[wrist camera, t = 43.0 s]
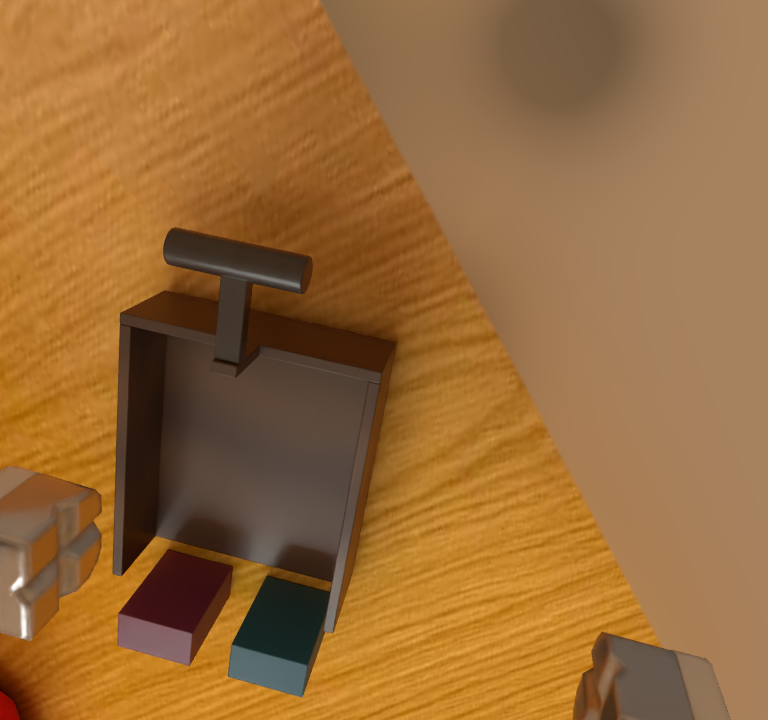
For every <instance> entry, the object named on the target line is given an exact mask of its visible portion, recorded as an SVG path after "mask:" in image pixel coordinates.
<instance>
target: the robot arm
mask: <svg viewBox="0 0 768 720" xmlns="http://www.w3.org/2000/svg"><path fill="white" fill-rule="evenodd" d="M101 512H102V505H101V495H100V494H99V493H98V492H97V491H96V490H95V489H91V488H88V487H85V486H82V485H78V484H75V483H72V482H68V481H65V480H62V479H59V478H55V477H52V476H49V475H46V474H40V473H37V472H34V471H31V470H27V469H24V468H21V467H18V466H12V467H5V468H4V469H2V470H1V471H0V633H3V634H6V635H10V636H14V637H17V638H21V639H24V640H28V641H30V640H31V639H32V638H33V637H34V636H35V635H36V634H37V633H38V632H39V631H40V630H41V629H42V628H43V627H44V626H45V625H46V624H47V623H48V621H49V620H50V619H51V618H52V617H53V616H54V615H55V614H56V613H57V612H58V611H59V598H60V597H63V596H65V595H68V594H70V593H73V592H75V591H78V590H79V588H80V587H81V586H82V585H83V584H84V583H85V582H86V581H87V579H88V578H89V577H90V575H91V573H92V571H93V569H94V567H95V565H96V564H97V562H98V558H99V554H100V550H101V537H102V534H101V533H100V531H99V529H98V528H97V526H96V525H95V523H94V521H93V520H94V519H95V518H96V517H97V516H98V515H99V514H100V513H101ZM592 660H593V668H591V669H590V670H588V671H586V672H584V673H583V674H582V677H581V680H580V683H579V686H578V689H577V692H576V698H575V703H574V709H573V720H731V719H730V716H729V713H728V710H727V707H726V705H725V702H724V699H723V696H722V693H721V690H720V687H719V684H718V681H717V679H716V676H715V673H714V670H713V667H712V665H711V663H710V662H709V661H708V660H707V659H705V658H702V657H698V656H693V655H690V654H686V653H682V652H678V651H674V650H667V649H664V648H660V647H656V646H653V645H649V644H645V643H642V642H638V641H634V640H631V639H627V638H623V637H620V636H616V635H612V634H609V633H605V632H601V633H600V635H599V636H598V637H597V639H596V641H595V644H594V646H593V649H592Z"/></svg>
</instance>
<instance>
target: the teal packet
mask: <svg viewBox="0 0 768 720" xmlns="http://www.w3.org/2000/svg"><path fill="white" fill-rule="evenodd" d="M329 595H330V593H329V592H325V591H322V590H318V589H314V588H310V587H306V586H303V585H299V584H295V583H291V582H287V581H284V580H280V579H276V578H272V577H268V576H267V577H266V578H265V580H264V582H263V584H262V586H261V588H260V590H259V592H258V594H257V596H256V598H255V600H254V602H253V604H252V606H251V608H250V610H249V611H248V613H247V615H246V617H245V619H244V621H243V623H242V625H241V627H240V629H239V631H238V633H237V635H236V637H235V639H234V641H233V643H232V645H231V654H230V663H229V671H228V677H231V678H235V679H238V680H242V681H245V682H249V683H253V684H256V685H260V686H263V687H267V688H270V689H274V690H278V691H281V692H285V693H288V694H292V695H296V696H299V697H303V695H304V692H305V689H306V686H307V683H308V680H309V677H310V674H311V671H312V668H313V666H314V663H315V660H316V657H317V654H318V651H319V648H320V645H321V642H322V639H323V636H324V634H325V631H323V628H324V622H325V617H326V611H327V606H328V600H329Z"/></svg>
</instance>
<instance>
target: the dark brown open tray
mask: <svg viewBox="0 0 768 720" xmlns="http://www.w3.org/2000/svg"><path fill="white" fill-rule="evenodd" d="M163 255H164V259H165V261H166V263H167V264H169V265H172V266H177V267H181V268H186V269H190V270H195V271H199V272H204V273H209V274H213V275H218V276H221V281H220V293H219V303H218V302H214V301H210V300H205V299H201V298H196V297H192V296H187V295H183V294H178V293H174V292H169V291H163V292H161V293H159V294H157V295H155V296H153V297H151V298H149V299H147V300H145V301H143V302H141V303H139V304H137V305H135V306H133V307H131V308H129V309H127V310H125V311H123V312H121V313H120V340H119V373H118V407H117V441H116V474H115V508H114V542H113V574H115V575H118V576H122V575H123V574H124V573H125V572H126V570H127V569H128V568H129V567H130V566H131V564H132V563H133V562H134V561H135V560H136V559H137V557H138V556H139V555H140V554H141V553H142V551H143V550H144V549H145V548H146V547H147V545H148V544H149V543H150V542H151V541H152V539H153V538H154V537H155V536H158V537H162V538H165V539H169V540H173V541H177V542H181V543H185V544H188V545H192V546H196V547H200V548H204V549H207V550H211V551H215V552H219V553H223V554H227V555H230V556H234V557H238V558H242V559H246V560H249V561H253V562H257V563H261V564H265V565H268V566H272V567H276V568H280V569H284V570H288V571H291V572H295V573H299V574H303V575H307V576H310V577H314V578H318V579H322V580H326V581H329V582H332V584H331V590H330V595H329V600H328V606H327V611H326V617H325V622H324V628H323V631H326V632H330V633H333V632H334V629H335V626H336V623H337V620H338V617H339V614H340V611H341V608H342V605H343V602H344V599H345V596H346V593H347V590H348V587H349V584H350V581H351V576H352V571H353V566H354V560H355V555H356V550H357V545H358V540H359V535H360V530H361V525H362V520H363V514H364V509H365V504H366V499H367V494H368V489H369V484H370V479H371V474H372V468H373V463H374V458H375V453H376V448H377V443H378V438H379V433H380V428H381V422H382V417H383V412H384V407H385V402H386V397H387V392H388V387H389V382H390V376H391V371H392V366H393V361H394V356H395V351H396V346H397V343H396V342H392V341H387V340H383V339H379V338H374V337H370V336H365V335H361V334H356V333H352V332H347V331H343V330H338V329H334V328H330V327H325V326H321V325H316V324H312V323H307V322H303V321H298V320H294V319H290V318H285V317H281V316H276V315H272V314H267V313H263V312H258V311H254V310H250V305H251V296H252V286H253V283H254V284H258V285H263V286H267V287H272V288H276V289H281V290H286V291H290V292H295V293H299V294H304V293H305V292H306V291H307V289H308V287H309V284H310V280H311V276H312V269H313V262H312V258H311V257H310V256H307V255H302V254H297V253H293V252H288V251H284V250H279V249H274V248H270V247H265V246H260V245H256V244H251V243H246V242H242V241H237V240H232V239H228V238H223V237H218V236H214V235H209V234H204V233H200V232H195V231H191V230H186V229H181V228H176V227H175V228H172V229H171V230H170V231H169V232H168V234H167V236H166V238H165V242H164V248H163Z"/></svg>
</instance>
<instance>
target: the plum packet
mask: <svg viewBox="0 0 768 720" xmlns="http://www.w3.org/2000/svg"><path fill="white" fill-rule="evenodd" d="M231 576H232V567H231V566H227V565H223V564H220V563H216V562H212V561H208V560H205V559H201V558H197V557H193V556H189V555H186V554H182V553H178V552H174V551H171V550H167V551H166V553H165V554H164V555H163V557H162V558H161V559H160V561H159V562H158V563H157V564H156V566H155V567H154V568H153V570H152V571H151V572H150V573H149V575H148V576H147V577H146V579H145V580H144V581H143V582H142V584H141V585H140V586H139V588H138V589H137V590H136V591H135V593H134V594H133V595H132V597H131V598H130V599H129V601H128V602H127V603H126V604H125V606H124V607H123V608H122V610H121V611H120V612H119V618H118V646H120V647H124V648H127V649H131V650H134V651H138V652H142V653H145V654H149V655H152V656H156V657H159V658H163V659H166V660H170V661H174V662H177V663H181V664H184V665H188V666H190V664H191V663H192V661H193V659H194V657H195V656H196V654H197V652H198V650H199V649H200V647H201V645H202V643H203V642H204V640H205V638H206V636H207V635H208V633H209V631H210V629H211V628H212V626H213V624H214V622H215V621H216V619H217V617H218V615H219V614H220V612H221V610H222V608H223V607H224V605H225V603H226V601H227V600H228V598H229V594H230V585H231Z"/></svg>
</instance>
